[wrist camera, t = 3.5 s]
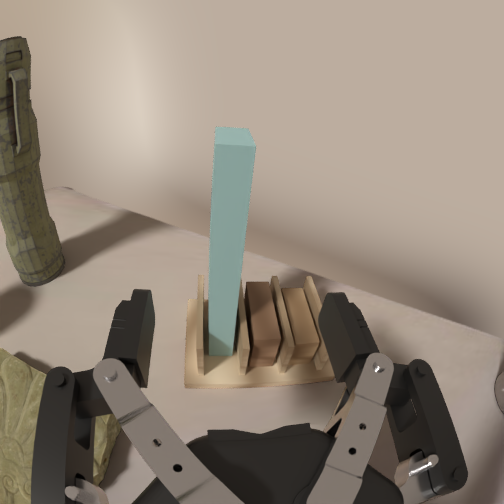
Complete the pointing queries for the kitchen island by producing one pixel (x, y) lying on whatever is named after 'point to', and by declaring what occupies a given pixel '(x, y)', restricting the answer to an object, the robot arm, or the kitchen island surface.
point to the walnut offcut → (261, 324)
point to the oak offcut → (300, 326)
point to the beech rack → (237, 366)
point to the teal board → (228, 232)
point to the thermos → (23, 173)
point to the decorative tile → (34, 429)
